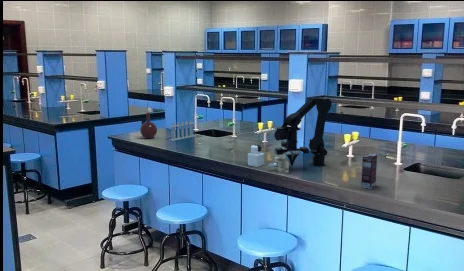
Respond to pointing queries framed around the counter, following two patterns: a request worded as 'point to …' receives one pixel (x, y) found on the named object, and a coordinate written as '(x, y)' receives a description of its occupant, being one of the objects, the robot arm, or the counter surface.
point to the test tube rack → (182, 130)
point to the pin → (273, 164)
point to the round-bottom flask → (148, 128)
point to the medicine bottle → (255, 156)
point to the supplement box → (369, 170)
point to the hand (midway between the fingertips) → (291, 165)
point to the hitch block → (282, 165)
